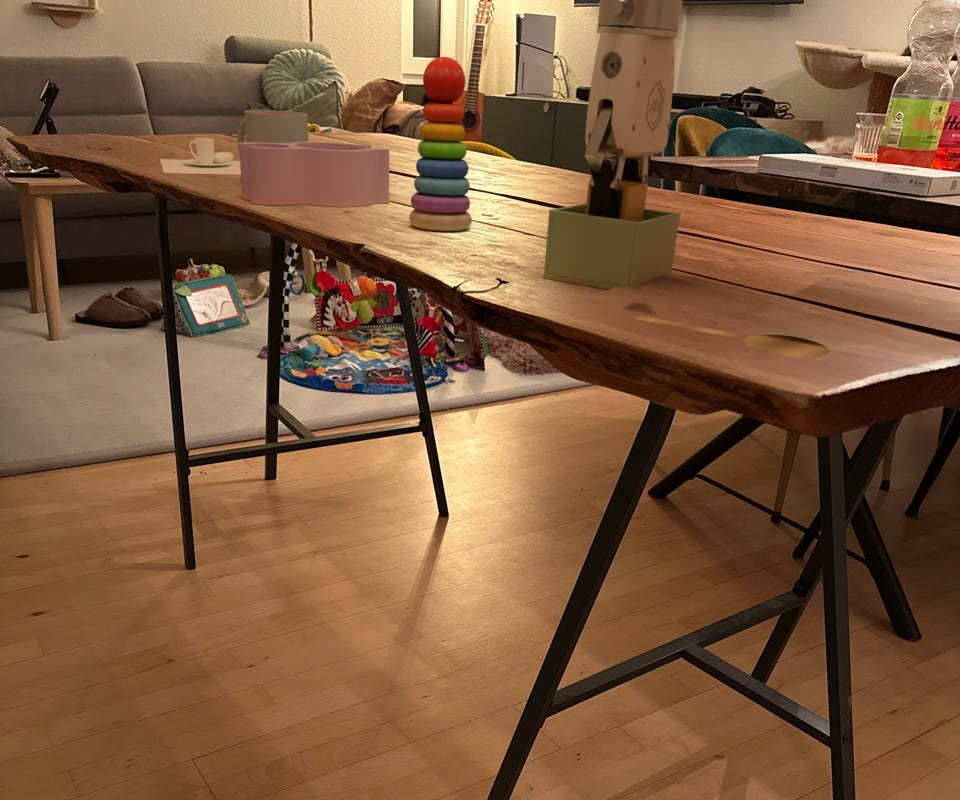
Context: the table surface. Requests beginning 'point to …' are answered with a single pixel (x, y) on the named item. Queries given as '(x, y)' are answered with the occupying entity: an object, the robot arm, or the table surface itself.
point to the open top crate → (609, 247)
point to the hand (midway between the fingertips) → (613, 227)
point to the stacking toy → (442, 153)
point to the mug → (273, 127)
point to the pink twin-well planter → (314, 174)
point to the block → (629, 200)
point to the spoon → (761, 341)
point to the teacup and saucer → (203, 161)
